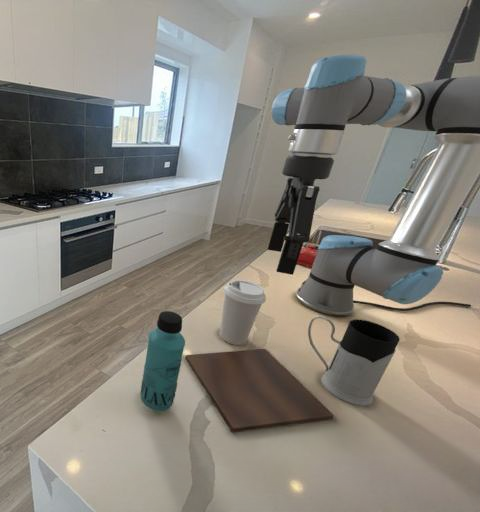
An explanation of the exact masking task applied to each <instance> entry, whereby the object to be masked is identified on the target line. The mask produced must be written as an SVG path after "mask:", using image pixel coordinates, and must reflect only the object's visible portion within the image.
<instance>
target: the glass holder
mask: <svg viewBox="0 0 480 512" xmlns="http://www.w3.org/2000/svg"><path fill="white" fill-rule="evenodd" d="M317 319H323V320H326V322H328V323H329V324H330V326H331V333H330V339H331V340H332V341H333V342H334V343H336V344H338V345H337V347H336V350H335V352H334V354H333V356H332V359H331V361H330V364H329V365H328V363H327V361H326V360H325V359H324V357H323V356H322V355H321V353H320V352H319V350H318V349H317V348H316V346H315V344H314V342H313V338H312V334H311V333H312V332H311V331H312V330H311V329H312V325H313V322H314V321H315V320H317ZM335 332H336V326H335V323H334V322H333V321H332V320H331V319H330V318H329V317H326V316H322V315H321V316H320V315H319V316H318V315H317V316H315V317H313V318H312V319H311V320H310V322H309V325H308V328H307V336H308V340H309V344H310V346H311V348H312V349H313V351H314V352H315V354H316V355H317V356H318V358H319V359H320V361H321V362H322V363H323V365H324V367H325V370H324V371H325V373H324V374H322V376H321V378H320V381H321V383H322V385H323V387H324V388H325V389H326V390H327V391H328V392H330V393H331V394H332V395H333V396H335V397H337V398H338V399H340V400H342V401H344V402H346V403H349V404H351V405H354V406H361V407H367V406H370V405H372V404H373V400H374V398H373V395H374V393H375V391H376V390H377V387H378V385H379V383H380V382H381V380H382V378H383V376H384V374H385V371H386V370H387V368H388V366H389V365H390V363H391V361H392V359H393V357H394V355H395V353H396V351H397V350H396V349H397V346H398V344H399V342H400V341H401V338H400V336H399V335H398V334H397V333H396V332H394V331H393V330H392V329H390V328H388V327H386V326H383V324H379V323H376V322H373V321H369V320H365V319H357V318H356V319H351V320H350V321H349V322H348V325H347V327H346V329H345V331H344V334H343V336H342V339H341V340H338V339H335V336H334V335H335Z"/></svg>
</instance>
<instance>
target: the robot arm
mask: <svg viewBox="0 0 480 512" xmlns="http://www.w3.org/2000/svg"><path fill="white" fill-rule="evenodd" d="M366 65H367V59H366V56H364V55H362V54H353V53H352V54H351V53H349V54H338V55H337V54H335V55H331V56H326V57H323V58H320V59H318V60H316V61H315V62H314V63H313V64H312V66H311V69H310V72H309V75H308V78H307V80H306V84H305V85H304V86H303V87H293V88H291V89H286V90H283V91H282V92H280V93H279V94H278V95H277V96H276V97H275V99H273V100H274V101H273V102H272V105H271V111H270V113H271V119H272V121H273V122H274V123H275V124H276V125H279V126H289V127H290V126H294V130H293V134H290V135H288V137H287V140H288V141H291V142H290V144H289V147H288V152H289V153H291V154H290V155H287V156H286V157H285V161H284V164H283V167H282V175H283V176H286V177H288V179H287V180H286V185H285V188H284V190H283V193H282V195H281V198H280V199H279V200H280V201H279V202H278V205H277V208H276V211H275V212H274V217H275V218H274V220H275V222H274V224H273V228H272V231H271V234H270V238H269V241H268V246H267V250H268V251H273V252H279V253H281V254H280V257H279V260H278V263H277V267H276V269H275V271H276V272H277V273H279V274H280V273H281V274H286V275H294V274H295V269H296V268H297V264H298V263H297V261H298V258H299V255H300V252H301V249H302V248H303V245H304V243H309V242H310V237H311V231H312V227H313V220H314V214H315V209H316V202H317V198H318V195H319V192H320V186H319V185H317V186H316V185H315V181H316V180H326V179H328V178H329V177H330V175H331V172H332V169H333V166H334V163H335V160H334V158H332V157H333V156H334V155H335V156H336V155H337V154H338V152H339V150H340V146H341V142H342V140H343V137H344V134H345V130H346V129H345V128H346V126H347V125H361V126H374V125H377V126H380V127H382V128H394V129H404V130H411V131H419V132H421V131H422V132H435V135H434V136H433V139H434V140H435V141H436V142H437V145H438V147H437V148H436V150H435V152H434V153H433V156H432V158H431V160H430V162H429V163H428V165H427V167H426V169H425V170H424V173H423V174H422V176H421V178H420V181H419V182H418V184H417V186H416V188H415V189H414V191H413V194H412V196H411V197H410V199H409V201H408V203H407V205H406V207H405V209H404V211H403V212H402V214H401V216H400V218H399V220H398V222H397V224H396V226H395V227H394V230H393V231H392V234H391V236H390V237H389V239H386V240H384V241H381V242H379V243H378V245H377V246H376V247H373V245H374V244H373V243H374V241H373V240H372V239H369V238H366V237H360V236H353V235H343V234H331V235H326V236H324V237H323V238H322V239H321V241H320V244H319V246H318V248H317V250H318V251H317V254H316V257H315V260H314V263H313V266H312V267H311V268H310V272H309V275H308V277H307V278H306V279H305V280H304V281H302V283H300V287H299V288H297V290H296V292H295V296H294V297H295V299H296V301H297V302H298V303H299V304H301V305H302V306H304V307H306V308H307V309H309V310H312V311H315V312H317V313H321V314H323V315H328V316H334V317H348V316H350V315H351V314H352V313H353V310H354V307H355V306H354V304H356V305H357V304H358V305H365V306H366V305H367V306H372V307H377V308H382V309H387V310H390V311H397V312H410V311H415V310H418V309H419V310H420V309H422V308H425V307H428V306H429V307H430V306H434V305H452V306H458V307H459V306H460V307H468V308H471V307H472V304H471V303H470V304H469V303H462V302H454V301H431V302H426V303H422V304H420V305H417V306H411V307H406V308H405V307H403V308H402V307H393V306H389V305H384V304H379V303H373V302H370V301H369V302H368V301H362V300H354V288H355V286H356V287H358V288H360V289H363V290H366V291H367V292H370V293H372V294H375V295H378V296H379V297H381V298H383V299H385V300H389V301H392V302H395V303H398V304H400V305H411V304H414V303H417V302H419V301H421V300H422V299H424V298H425V297H427V296H428V295H429V294H430V293H431V292H432V291H433V290H435V288H436V287H437V286H438V285H439V284H440V282H441V280H442V278H443V275H444V270H443V269H442V268H441V267H440V266H438V265H437V264H438V262H439V260H440V256H439V255H438V254H437V252H436V249H437V247H438V245H439V243H440V242H441V240H442V239H443V237H444V235H445V234H446V232H447V230H448V228H449V227H450V225H451V223H452V222H453V220H454V218H455V217H456V215H457V213H458V211H459V209H461V206H462V205H463V202H464V201H465V200H466V197H467V196H468V194H469V193H470V191H471V189H472V187H473V186H474V184H475V182H476V181H477V179H478V178H479V176H480V74H478V75H477V74H476V75H470V76H469V75H467V76H460V77H450V78H449V77H448V78H442V79H437V80H430V81H426V82H421V83H414V84H403V83H401V82H399V81H395V80H393V79H391V78H389V77H386V78H385V77H384V78H382V77H375V76H368V75H365V73H366ZM287 234H288V235H287Z"/></svg>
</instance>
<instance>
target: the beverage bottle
mask: <svg viewBox="0 0 480 512" xmlns="http://www.w3.org/2000/svg"><path fill="white" fill-rule="evenodd" d="M182 327H183V317H182V316H181V315H180V314H178V313H177V312H174V311H171V310H170V311H169V310H168V311H167V310H166V311H161V312H160V313H159V314H158V318H157V321H156V327H155V328H153V329H152V330H151V331H150V332H149V333H148V342H147V348H146V355H145V362H144V365H143V372H142V379H141V386H140V395H139V396H140V399H141V402H142V403H143V405H144V406H145V407H146V408H147V409H150V410H151V411H154V412H166V411H168V410H169V409H170V408H171V407H172V406H173V405H174V400H175V399H176V392H177V389H178V388H177V387H178V380H179V376H180V375H179V374H180V372H181V367H182V361H183V359H182V358H183V353H184V348H185V346H186V339H185V338H184V336H183V334H182V333H181V331H182V330H183V329H182Z"/></svg>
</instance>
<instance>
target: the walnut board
mask: <svg viewBox="0 0 480 512" xmlns="http://www.w3.org/2000/svg"><path fill="white" fill-rule="evenodd" d="M184 359H185V361H186V362H187V364H188V365H189V367H190V369H191V370H192V372H193V373H194V375H195V376H196V378H197V379H198V381H199V382H200V384H201V386H202V387H203V388H204V390H205V392H206V393H207V395H208V396H209V398H210V400H211V402H212V403H213V404H214V406H215V408H216V409H217V411H218V413H219V414H220V416H221V417H222V419H223V420H224V422H225V424H226V425H227V426H228V428H229V430H230V431H231V432H232V433H236V432H244V431H252V430H259V429H267V428H275V427H281V426H289V425H295V424H296V425H297V424H305V423H312V422H320V421H326V420H327V421H328V420H332V419H333V418H334V416H335V415H334V414H333V412H331V411H330V410H329V408H328V407H326V405H324V403H322V402H321V401H320V400H319V399H318V398H317V396H315V395H314V394H313V393H312V392H311V391H310V390H308V388H307V387H305V385H303V384H302V382H300V380H299V379H297V377H295V376H294V375H293V374H292V373H291V372H290V371H289V370H288V369H287V368H286V367H285V366H284V365H282V363H280V361H278V360H277V359H276V357H274V356H273V355H272V354H271V353H270V352H269V350H267V349H266V348H257V349H245V350H232V351H231V350H230V351H220V352H219V351H218V352H209V353H207V352H205V353H195V354H185V358H184Z"/></svg>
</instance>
